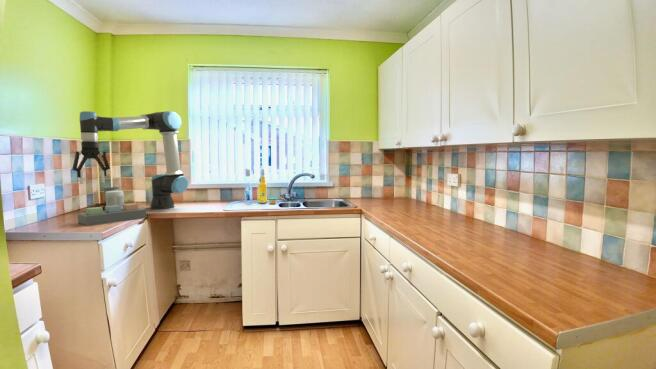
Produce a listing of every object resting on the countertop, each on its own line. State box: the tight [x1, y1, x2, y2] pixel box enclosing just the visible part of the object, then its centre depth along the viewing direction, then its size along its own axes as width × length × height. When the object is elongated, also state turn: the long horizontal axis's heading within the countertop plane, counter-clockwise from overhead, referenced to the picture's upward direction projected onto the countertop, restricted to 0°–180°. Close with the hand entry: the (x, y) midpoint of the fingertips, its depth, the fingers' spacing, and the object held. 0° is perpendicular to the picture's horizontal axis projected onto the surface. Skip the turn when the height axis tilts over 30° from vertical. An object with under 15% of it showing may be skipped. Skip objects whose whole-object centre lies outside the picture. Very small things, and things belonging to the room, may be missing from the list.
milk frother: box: [93, 186, 120, 211], centre depth 235 cm, size 14×16×15 cm
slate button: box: [104, 205, 121, 213], centre depth 196 cm, size 6×6×4 cm
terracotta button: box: [122, 202, 139, 211], centre depth 203 cm, size 6×6×4 cm
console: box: [77, 207, 148, 227], centre depth 196 cm, size 30×14×5 cm, turn 140°
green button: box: [85, 206, 104, 215], centre depth 189 cm, size 6×6×4 cm
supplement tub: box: [105, 190, 125, 209], centre depth 212 cm, size 10×10×15 cm
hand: (92, 183), depth 188 cm, fingers open, 9 cm apart
